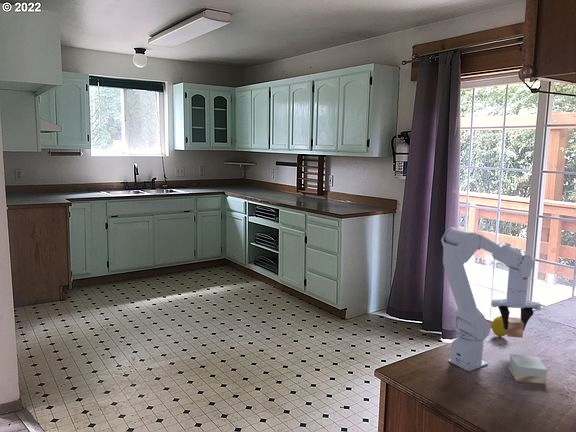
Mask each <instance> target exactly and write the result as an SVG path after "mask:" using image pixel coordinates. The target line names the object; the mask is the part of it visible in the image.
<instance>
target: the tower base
mask: <svg viewBox="0 0 576 432" xmlns="http://www.w3.org/2000/svg"><path fill="white" fill-rule="evenodd" d="M508 370H509V372H510V373H511V375H512V376H514V377H513V379H515V381H516V382H523V383H534V384H544V385H545V384H546V383H547V381H546V380H547V377H546V378H545V377H536V376H527V375H517V374H516V373H515V371H514V369H513V367H512V366H511V364H510V361H509V363H508Z"/></svg>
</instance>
